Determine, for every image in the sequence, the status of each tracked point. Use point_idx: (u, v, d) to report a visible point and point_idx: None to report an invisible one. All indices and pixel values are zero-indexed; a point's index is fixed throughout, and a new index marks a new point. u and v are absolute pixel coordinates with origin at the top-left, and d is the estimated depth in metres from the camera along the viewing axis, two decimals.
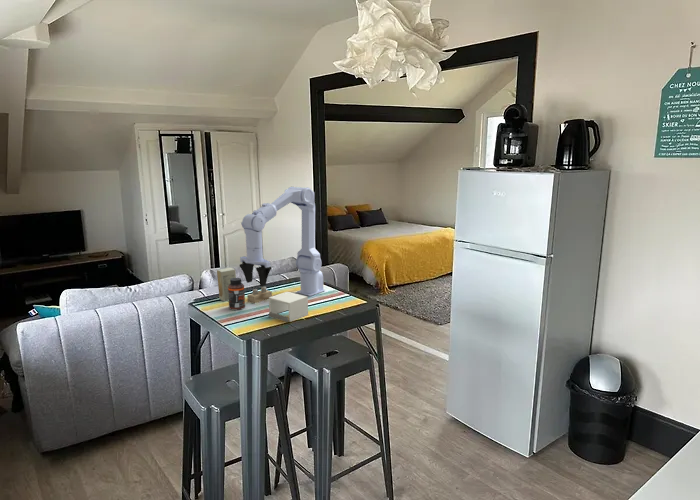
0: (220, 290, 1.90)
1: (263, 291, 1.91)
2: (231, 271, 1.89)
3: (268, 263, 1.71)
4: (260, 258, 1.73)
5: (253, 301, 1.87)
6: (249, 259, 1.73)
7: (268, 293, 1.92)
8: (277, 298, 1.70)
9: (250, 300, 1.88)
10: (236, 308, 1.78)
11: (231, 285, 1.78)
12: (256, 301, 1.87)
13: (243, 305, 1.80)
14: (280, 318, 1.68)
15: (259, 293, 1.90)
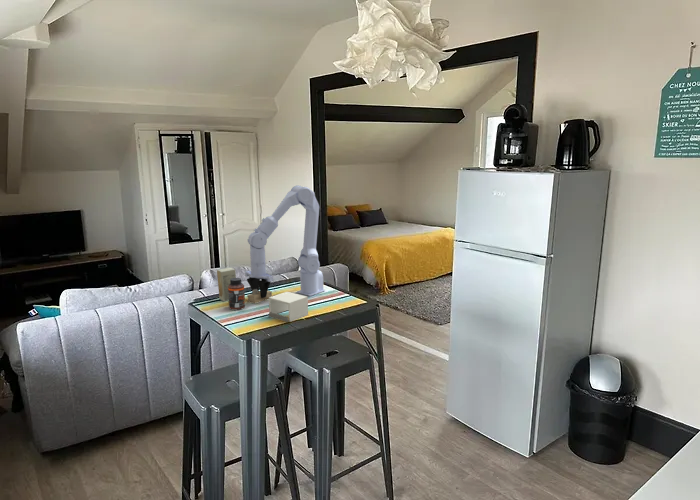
0: (220, 290, 1.90)
1: None
2: (231, 271, 1.89)
3: (271, 278, 1.85)
4: (263, 273, 1.87)
5: (253, 301, 1.87)
6: (253, 274, 1.87)
7: (268, 293, 1.92)
8: (277, 298, 1.70)
9: (250, 300, 1.88)
10: (236, 308, 1.78)
11: (231, 285, 1.78)
12: (256, 301, 1.87)
13: (243, 305, 1.80)
14: (280, 318, 1.68)
15: (259, 293, 1.90)
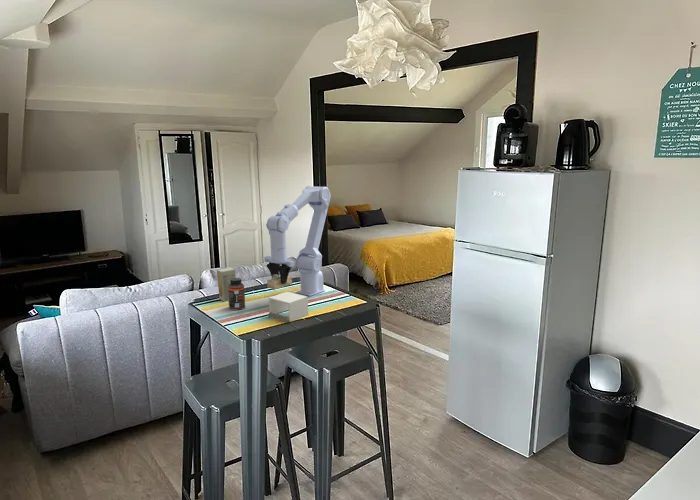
0: (220, 290, 1.90)
1: None
2: (231, 271, 1.89)
3: (292, 262, 1.79)
4: (284, 258, 1.81)
5: (273, 286, 1.81)
6: (273, 259, 1.81)
7: (288, 278, 1.85)
8: (277, 298, 1.70)
9: (270, 286, 1.82)
10: (236, 308, 1.78)
11: (231, 285, 1.78)
12: (276, 286, 1.81)
13: (243, 305, 1.80)
14: (280, 318, 1.68)
15: (279, 278, 1.84)
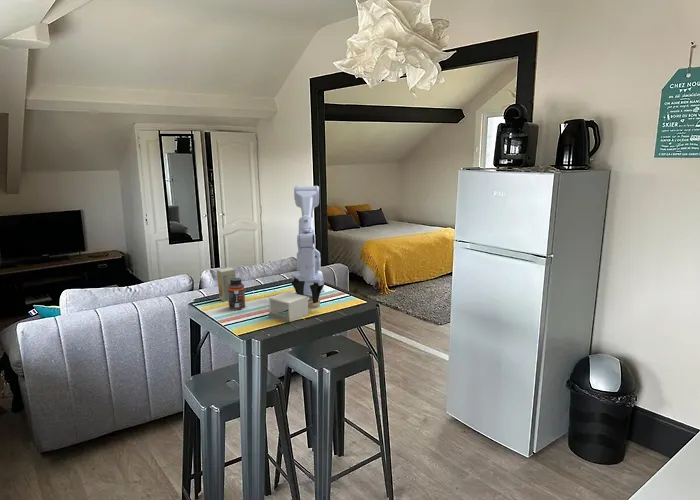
0: (220, 290, 1.90)
1: (311, 299, 1.81)
2: (231, 271, 1.89)
3: (321, 281, 1.74)
4: (313, 276, 1.76)
5: None
6: (302, 277, 1.76)
7: None
8: (277, 298, 1.70)
9: None
10: (236, 308, 1.78)
11: (231, 285, 1.78)
12: None
13: (243, 305, 1.80)
14: (280, 318, 1.68)
15: None
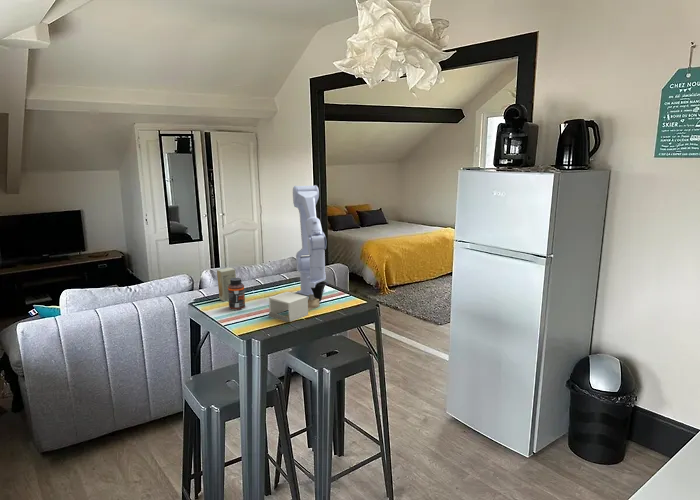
0: (220, 290, 1.90)
1: (311, 299, 1.80)
2: (231, 271, 1.89)
3: (311, 284, 1.76)
4: (315, 277, 1.80)
5: None
6: None
7: (316, 301, 1.81)
8: (277, 298, 1.70)
9: None
10: (236, 308, 1.78)
11: (231, 285, 1.78)
12: None
13: (243, 305, 1.80)
14: (280, 318, 1.68)
15: None
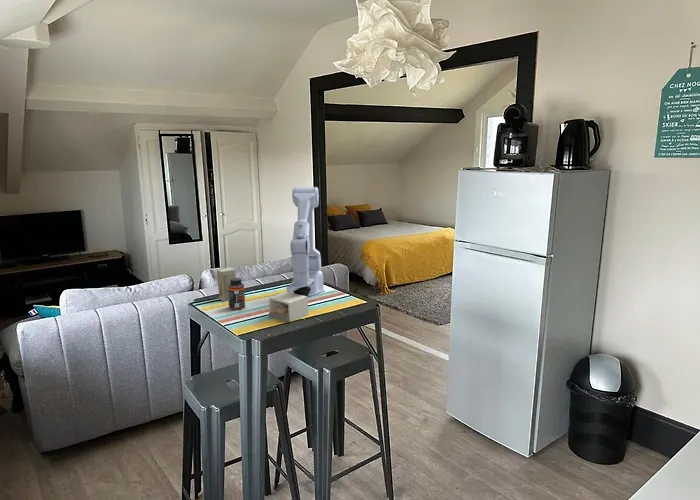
0: (220, 290, 1.90)
1: None
2: (231, 271, 1.89)
3: (288, 288, 1.70)
4: (296, 282, 1.73)
5: None
6: None
7: None
8: (277, 298, 1.70)
9: None
10: (236, 308, 1.78)
11: (231, 285, 1.78)
12: (283, 315, 1.71)
13: (243, 305, 1.80)
14: (280, 318, 1.68)
15: None
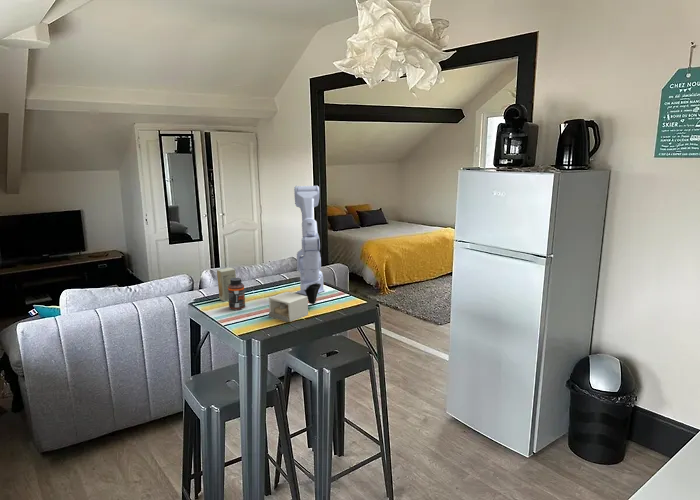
0: (220, 290, 1.90)
1: None
2: (231, 271, 1.89)
3: (302, 286, 1.74)
4: (308, 279, 1.77)
5: None
6: None
7: None
8: (277, 298, 1.70)
9: None
10: (236, 308, 1.78)
11: (231, 285, 1.78)
12: (283, 315, 1.71)
13: (243, 305, 1.80)
14: (280, 318, 1.68)
15: (287, 307, 1.73)
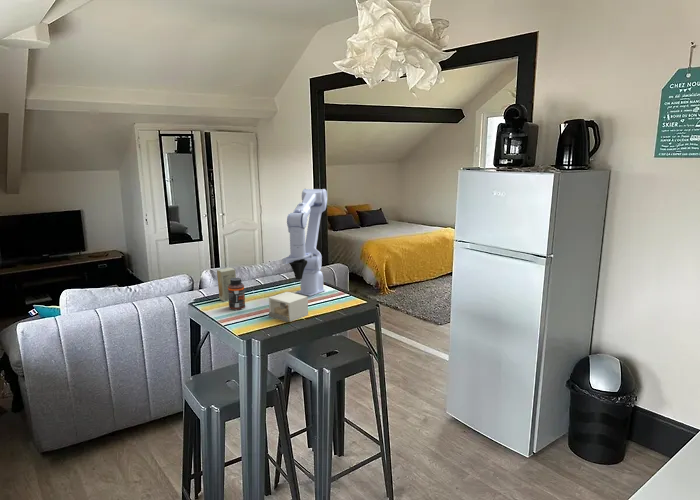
0: (220, 290, 1.90)
1: None
2: (231, 271, 1.89)
3: (284, 260, 1.78)
4: (293, 255, 1.81)
5: None
6: None
7: None
8: (277, 298, 1.70)
9: None
10: (236, 308, 1.78)
11: (231, 285, 1.78)
12: None
13: (243, 305, 1.80)
14: (280, 318, 1.68)
15: (287, 307, 1.73)
